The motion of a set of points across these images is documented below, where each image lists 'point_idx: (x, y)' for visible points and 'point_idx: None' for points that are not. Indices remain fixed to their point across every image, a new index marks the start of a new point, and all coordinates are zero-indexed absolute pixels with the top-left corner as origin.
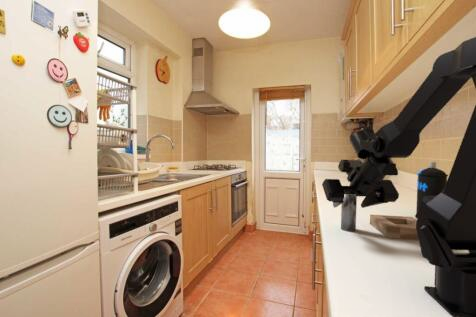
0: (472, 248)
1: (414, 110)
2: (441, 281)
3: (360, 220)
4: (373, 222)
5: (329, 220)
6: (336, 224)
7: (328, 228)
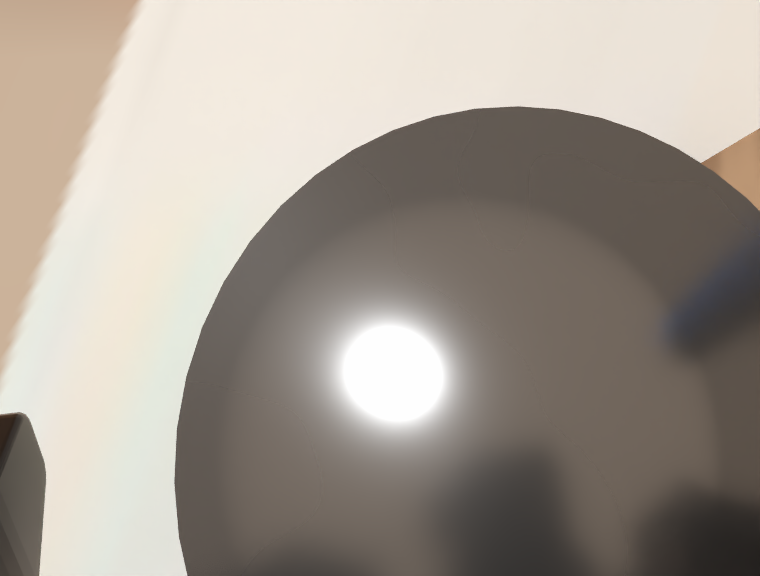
0: None
1: None
2: None
3: (626, 34)
4: None
5: (203, 59)
6: (241, 235)
7: (49, 437)
